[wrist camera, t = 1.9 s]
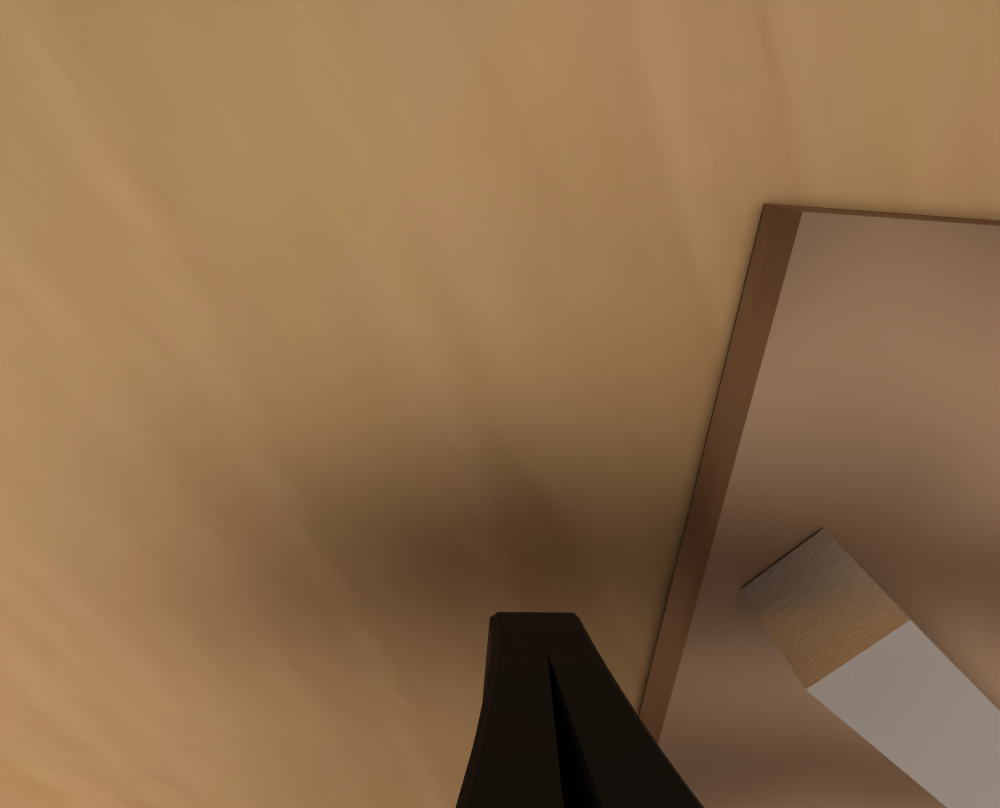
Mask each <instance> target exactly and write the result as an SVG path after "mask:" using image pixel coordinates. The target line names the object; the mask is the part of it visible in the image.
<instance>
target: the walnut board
mask: <svg viewBox="0 0 1000 808" xmlns="http://www.w3.org/2000/svg"><path fill="white" fill-rule="evenodd" d="M823 528H824V529H825V530H826V531H827V532H828V533H829V534H830V535H831V536H832V537H833V538H834V539H835V541H836V542H837V543H838V544H839V545H840V546H841V547H842V548H843V549H844V550H845V551H846V552H847V553H848V554H849V555H850V556H851V557H852V558H853V559H854V560H855V561H856V562H857V563H858V564H859V565H860V566H861V567H862V568H863V569H864V570H865V571H866V572H867V573H868V574H869V575H870V576H871V577H872V578H873V579H874V580H875V581H876V583H877V584H878V585H879V586H880V587H881V588H882V589H883V590H884V591H885V592H886V593H887V594H888V595H889V596H890V597H891V598H892V599H893V600H894V601H895V602H896V603H897V604H898V605H899V606H900V607H901V608H902V609H903V610H904V611H905V612H906V613H907V614H908V615H909V616H910V617H911V618H912V619H913V620H914V621H915V622H916V623H917V625H918V626H919V627H920V628H921V629H922V630H923V631H924V632H925V633H926V634H927V635H928V636H929V637H930V638H931V639H932V640H933V641H934V642H935V643H936V644H937V645H938V646H939V647H940V648H941V649H942V650H943V651H944V652H945V653H946V654H947V655H948V656H949V657H950V658H951V659H952V660H953V661H954V662H955V663H956V664H957V665H958V666H959V668H960V669H961V670H962V671H963V672H964V673H965V674H966V675H967V676H968V677H969V678H970V679H971V680H972V681H973V682H974V683H975V684H976V685H977V686H978V687H979V688H980V689H981V690H982V691H983V692H984V693H985V694H986V695H987V696H988V697H989V698H990V699H991V700H992V701H993V702H994V703H995V704H996V705H997V706H998V707H999V708H1000V221H994V220H980V219H966V218H953V217H939V216H926V215H912V214H899V213H885V212H871V211H858V210H844V209H831V208H817V207H804V206H790V205H776V204H764V209H763V213H762V217H761V221H760V225H759V229H758V233H757V237H756V241H755V245H754V249H753V253H752V258H751V262H750V266H749V270H748V274H747V278H746V282H745V286H744V290H743V294H742V298H741V302H740V307H739V311H738V315H737V319H736V323H735V327H734V331H733V335H732V339H731V343H730V347H729V351H728V355H727V360H726V364H725V368H724V372H723V376H722V380H721V384H720V388H719V392H718V396H717V400H716V404H715V409H714V413H713V417H712V421H711V425H710V429H709V433H708V437H707V441H706V445H705V449H704V453H703V458H702V462H701V466H700V470H699V474H698V478H697V482H696V486H695V490H694V494H693V498H692V502H691V507H690V511H689V515H688V519H687V523H686V527H685V531H684V535H683V539H682V543H681V547H680V551H679V555H678V560H677V564H676V568H675V572H674V576H673V580H672V584H671V588H670V592H669V596H668V600H667V604H666V609H665V613H664V617H663V621H662V625H661V629H660V633H659V637H658V641H657V645H656V649H655V653H654V658H653V662H652V666H651V670H650V674H649V678H648V682H647V686H646V690H645V694H644V698H643V702H642V707H641V711H640V715H639V718H640V719H641V720H642V722H643V723H644V725H645V726H646V728H647V729H648V731H649V732H650V734H651V735H652V737H653V738H654V740H655V741H656V743H657V744H658V746H659V747H660V748H661V750H662V751H663V753H664V754H665V755H666V757H667V758H668V760H669V761H670V762H671V764H672V765H673V767H674V768H675V769H676V771H677V772H678V774H679V775H680V776H681V778H682V779H683V780H684V782H685V783H686V784H687V786H688V787H689V788H690V790H691V791H692V792H693V794H694V795H695V796H696V798H697V799H698V800H699V802H700V803H701V804H702V806H703V807H704V808H947V807H946V806H944V805H943V804H942V803H941V802H940V801H938V800H937V799H936V798H935V797H934V796H932V795H931V794H930V793H929V792H928V791H926V790H925V789H924V788H923V787H922V786H920V785H919V784H918V783H917V782H916V781H914V780H913V779H912V778H911V777H910V776H908V775H907V774H906V773H905V772H904V771H903V770H901V769H900V768H899V767H898V766H897V765H895V764H894V763H893V762H892V761H891V760H889V759H888V758H887V757H886V756H885V755H883V754H882V753H881V752H880V751H879V750H877V749H876V748H875V747H874V746H873V745H871V744H870V743H869V742H868V741H867V740H865V739H864V738H863V737H862V736H861V735H859V734H858V733H857V732H856V731H855V730H853V729H852V728H851V727H850V726H849V725H847V724H846V723H845V722H844V721H843V720H841V719H840V718H839V717H838V716H837V715H835V714H834V713H833V712H832V711H831V710H829V709H828V708H827V707H826V706H825V705H823V704H822V703H821V702H820V701H819V700H817V699H816V698H815V697H814V696H813V695H811V694H810V693H809V692H808V691H807V690H806V689H805V688H804V686H803V685H802V683H801V681H800V680H799V678H798V677H797V675H796V674H795V672H794V671H793V669H792V667H791V666H790V664H789V663H788V661H787V660H786V658H785V656H784V655H783V653H782V652H781V650H780V649H779V647H778V645H777V644H776V642H775V641H774V639H773V638H772V636H771V634H770V633H769V631H768V630H767V628H766V627H765V625H764V623H763V622H762V620H761V619H760V617H759V616H758V614H757V612H756V611H755V609H754V608H753V606H752V605H751V603H750V602H749V600H748V598H747V597H746V595H745V594H744V592H743V591H742V588H744V587H745V586H746V585H748V584H749V583H750V582H752V581H753V580H755V579H756V578H757V577H759V576H760V575H761V574H763V573H764V572H765V571H767V570H768V569H769V568H771V567H772V566H773V565H775V564H776V563H777V562H779V561H780V560H781V559H783V558H784V557H785V556H787V555H788V554H789V553H791V552H792V551H793V550H795V549H796V548H798V547H799V546H800V545H802V544H803V543H804V542H806V541H807V540H808V539H810V538H811V537H812V536H814V535H815V534H816V533H818V532H819V531H820V530H822V529H823Z"/></svg>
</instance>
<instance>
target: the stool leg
mask: <svg viewBox="0 0 1000 808" xmlns="http://www.w3.org/2000/svg"><path fill="white" fill-rule="evenodd" d="M742 591H743V592H744V594H745V595H746V597H747V598H748V600H749V602H750V603H751V605H752V606H753V608H754V609H755V611H756V612H757V614H758V616H759V617H760V619H761V620H762V622H763V623H764V625H765V627H766V628H767V630H768V631H769V633H770V634H771V636H772V638H773V639H774V641H775V642H776V644H777V645H778V647H779V649H780V650H781V652H782V653H783V655H784V656H785V658H786V660H787V661H788V663H789V664H790V666H791V667H792V669H793V671H794V672H795V674H796V675H797V677H798V678H799V680H800V681H801V683H802V685H803V686H804V688H805V689H806V690H807V691H808V692H809V693H810V694H811V695H813V696H814V697H815V698H816V699H817V700H819V701H820V702H821V703H822V704H823V705H825V706H826V707H827V708H828V709H829V710H831V711H832V712H833V713H834V714H835V715H837V716H838V717H839V718H840V719H841V720H843V721H844V722H845V723H846V724H847V725H849V726H850V727H851V728H852V729H853V730H855V731H856V732H857V733H858V734H859V735H861V736H862V737H863V738H864V739H865V740H867V741H868V742H869V743H870V744H871V745H873V746H874V747H875V748H876V749H877V750H879V751H880V752H881V753H882V754H883V755H885V756H886V757H887V758H888V759H889V760H891V761H892V762H893V763H894V764H895V765H897V766H898V767H899V768H900V769H901V770H903V771H904V772H905V773H906V774H907V775H908V776H910V777H911V778H912V779H913V780H914V781H916V782H917V783H918V784H919V785H920V786H922V787H923V788H924V789H925V790H926V791H928V792H929V793H930V794H931V795H932V796H934V797H935V798H936V799H937V800H938V801H940V802H941V803H942V804H943V805H944V806H946V807H947V808H1000V708H999V707H998V706H997V705H996V704H995V703H994V702H993V701H992V700H991V699H990V698H989V697H988V696H987V695H986V694H985V693H984V692H983V691H982V690H981V689H980V688H979V687H978V686H977V685H976V684H975V683H974V682H973V681H972V680H971V679H970V678H969V677H968V676H967V675H966V674H965V673H964V672H963V671H962V670H961V669H960V668H959V666H958V665H957V664H956V663H955V662H954V661H953V660H952V659H951V658H950V657H949V656H948V655H947V654H946V653H945V652H944V651H943V650H942V649H941V648H940V647H939V646H938V645H937V644H936V643H935V642H934V641H933V640H932V639H931V638H930V637H929V636H928V635H927V634H926V633H925V632H924V631H923V630H922V629H921V628H920V627H919V626H918V625H917V623H916V622H915V621H914V620H913V619H912V618H911V617H910V616H909V615H908V614H907V613H906V612H905V611H904V610H903V609H902V608H901V607H900V606H899V605H898V604H897V603H896V602H895V601H894V600H893V599H892V598H891V597H890V596H889V595H888V594H887V593H886V592H885V591H884V590H883V589H882V588H881V587H880V586H879V585H878V584H877V583H876V581H875V580H874V579H873V578H872V577H871V576H870V575H869V574H868V573H867V572H866V571H865V570H864V569H863V568H862V567H861V566H860V565H859V564H858V563H857V562H856V561H855V560H854V559H853V558H852V557H851V556H850V555H849V554H848V553H847V552H846V551H845V550H844V549H843V548H842V547H841V546H840V545H839V544H838V543H837V542H836V541H835V539H834V538H833V537H832V536H831V535H830V534H829V533H828V532H827V531H826V530H825V529H824V528H823V529H822V530H820V531H819V532H818V533H816V534H815V535H814V536H812V537H811V538H810V539H808V540H807V541H806V542H804V543H803V544H802V545H800V546H799V547H798V548H796V549H795V550H793V551H792V552H791V553H789V554H788V555H787V556H785V557H784V558H783V559H781V560H780V561H779V562H777V563H776V564H775V565H773V566H772V567H771V568H769V569H768V570H767V571H765V572H764V573H763V574H761V575H760V576H759V577H757V578H756V579H755V580H753V581H752V582H750V583H749V584H748V585H746V586H745V587H744V588H742Z"/></svg>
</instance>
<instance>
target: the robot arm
mask: <svg viewBox="0 0 1000 808" xmlns="http://www.w3.org/2000/svg"><path fill="white" fill-rule="evenodd" d="M456 808H704V807H703V806H702V804H701V803H700V802H699V800H698V799H697V798H696V796H695V795H694V794H693V792H692V791H691V790H690V788H689V787H688V786H687V784H686V783H685V782H684V780H683V779H682V778H681V776H680V775H679V774H678V772H677V771H676V769H675V768H674V767H673V765H672V764H671V762H670V761H669V760H668V758H667V757H666V755H665V754H664V753H663V751H662V750H661V748H660V747H659V746H658V744H657V743H656V741H655V740H654V738H653V737H652V735H651V734H650V732H649V731H648V729H647V728H646V726H645V725H644V723H643V722H642V720H641V719H640V718H639V716H638V715H637V713H636V712H635V710H634V709H633V707H632V706H631V704H630V703H629V701H628V699H627V698H626V696H625V695H624V693H623V692H622V690H621V689H620V687H619V685H618V684H617V682H616V680H615V679H614V677H613V676H612V674H611V672H610V671H609V669H608V668H607V666H606V664H605V663H604V661H603V659H602V657H601V656H600V654H599V652H598V651H597V649H596V647H595V646H594V644H593V642H592V640H591V639H590V637H589V635H588V633H587V631H586V630H585V628H584V626H583V624H582V622H581V620H580V618H579V617H578V616H577V615H576V614H575V613H547V612H497V613H496V614H495V615H493V616H492V617H490V623H489V634H488V645H487V657H486V668H485V679H484V691H483V704H482V708H481V713H480V717H479V722H478V727H477V731H476V736H475V740H474V744H473V748H472V752H471V755H470V759H469V762H468V766H467V769H466V773H465V777H464V780H463V784H462V787H461V791H460V794H459V798H458V801H457V805H456Z"/></svg>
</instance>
